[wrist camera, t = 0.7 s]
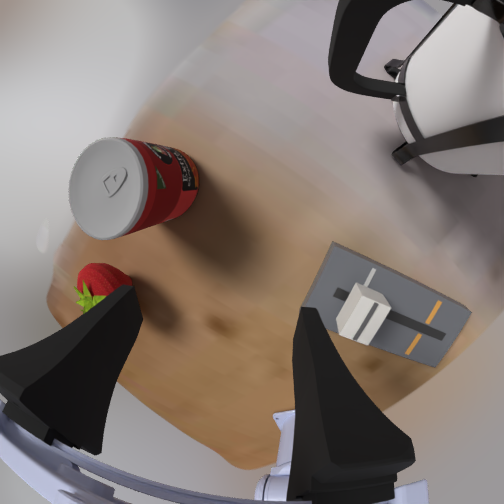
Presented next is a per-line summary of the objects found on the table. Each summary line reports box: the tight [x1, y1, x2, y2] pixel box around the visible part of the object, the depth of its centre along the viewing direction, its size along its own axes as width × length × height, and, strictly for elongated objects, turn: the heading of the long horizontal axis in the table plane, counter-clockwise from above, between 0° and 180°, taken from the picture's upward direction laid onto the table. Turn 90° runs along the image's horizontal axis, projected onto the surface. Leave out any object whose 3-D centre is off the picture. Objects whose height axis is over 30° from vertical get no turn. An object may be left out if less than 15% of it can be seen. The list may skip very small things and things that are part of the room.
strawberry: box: [74, 263, 132, 314], centre depth 27 cm, size 6×8×10 cm
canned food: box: [69, 137, 199, 240], centre depth 23 cm, size 8×8×11 cm
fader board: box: [299, 241, 472, 367], centre depth 26 cm, size 19×8×2 cm, turn 69°
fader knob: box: [336, 283, 391, 345], centre depth 23 cm, size 3×4×4 cm
